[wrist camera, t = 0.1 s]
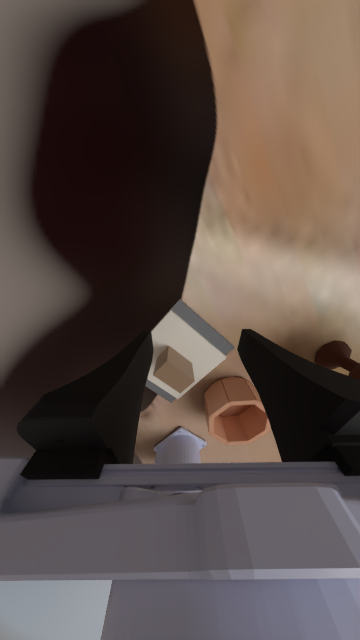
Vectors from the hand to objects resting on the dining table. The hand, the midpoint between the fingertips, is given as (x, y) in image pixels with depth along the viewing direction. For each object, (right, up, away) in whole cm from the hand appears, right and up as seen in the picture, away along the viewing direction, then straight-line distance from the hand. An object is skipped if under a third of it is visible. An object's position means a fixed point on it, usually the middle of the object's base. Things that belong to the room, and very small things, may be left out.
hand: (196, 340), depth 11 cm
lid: (-2, -5, +12) cm, 13 cm away
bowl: (+8, -13, +16) cm, 22 cm away
